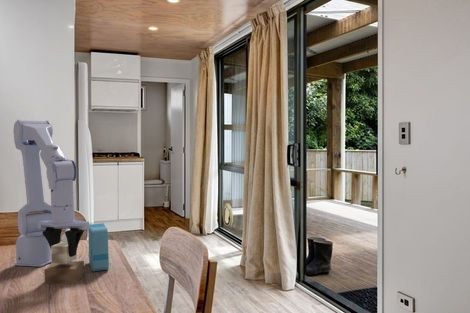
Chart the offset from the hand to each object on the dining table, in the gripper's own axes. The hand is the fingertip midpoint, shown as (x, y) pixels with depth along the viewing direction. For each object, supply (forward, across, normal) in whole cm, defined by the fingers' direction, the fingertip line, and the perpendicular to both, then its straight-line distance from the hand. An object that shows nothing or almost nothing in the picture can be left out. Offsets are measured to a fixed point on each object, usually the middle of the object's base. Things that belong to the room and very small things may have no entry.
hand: (64, 255), depth 111 cm
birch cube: (+2, 0, 0) cm, 2 cm away
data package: (+7, +3, +12) cm, 14 cm away
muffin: (+7, -20, +31) cm, 37 cm away
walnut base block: (+7, 0, 0) cm, 7 cm away
